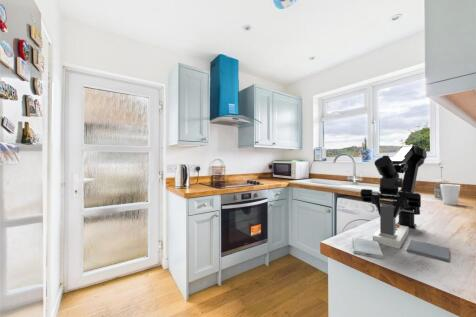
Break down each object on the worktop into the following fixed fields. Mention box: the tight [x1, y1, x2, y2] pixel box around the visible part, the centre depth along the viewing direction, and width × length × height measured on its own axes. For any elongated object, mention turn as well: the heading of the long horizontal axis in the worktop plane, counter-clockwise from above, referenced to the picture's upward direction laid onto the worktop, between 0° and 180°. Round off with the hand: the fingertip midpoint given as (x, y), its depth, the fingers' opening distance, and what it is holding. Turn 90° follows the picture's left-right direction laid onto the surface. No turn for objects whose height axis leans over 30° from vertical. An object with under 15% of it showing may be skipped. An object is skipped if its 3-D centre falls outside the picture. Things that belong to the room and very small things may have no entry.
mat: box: [406, 239, 450, 263], centre depth 69 cm, size 11×10×1 cm
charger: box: [379, 204, 397, 236], centre depth 76 cm, size 4×4×10 cm
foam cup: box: [439, 183, 461, 206], centre depth 138 cm, size 10×9×13 cm
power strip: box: [372, 222, 410, 250], centre depth 81 cm, size 22×8×3 cm, turn 133°
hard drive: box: [352, 237, 385, 260], centre depth 71 cm, size 2×8×12 cm
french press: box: [432, 166, 450, 201], centre depth 154 cm, size 10×12×25 cm
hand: (387, 216), depth 75 cm, fingers closed on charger, 4 cm apart
